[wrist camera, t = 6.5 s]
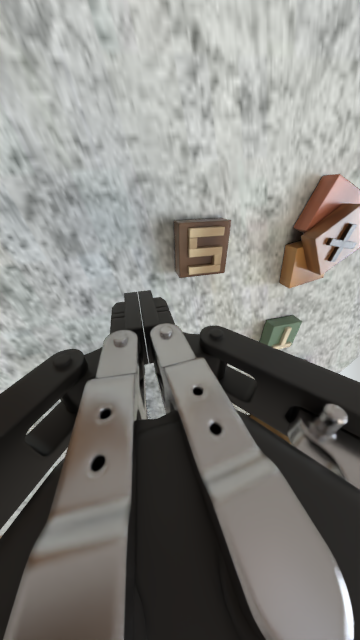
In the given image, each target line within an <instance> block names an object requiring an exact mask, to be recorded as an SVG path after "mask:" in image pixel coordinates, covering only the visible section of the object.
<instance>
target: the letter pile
mask: <svg viewBox="0 0 360 640" xmlns="http://www.w3.org/2000/svg"><path fill="white" fill-rule="evenodd" d="M293 228H294V229H296V230H298V231H300V232H302V233H304V234H303V235H301V239H302V241H298V242H295V243H291V244H288V245H286V246H285V252H284V258H283V264H282V270H281V276H280V283H281V284H283V285H284V286H286V287H288V288H292V287H295V286H298V285H301V284H304V283H308V282H311V281H314V280H317V279H320V278H323V277H324V273H325V272H326V271H328V270H329V269H331V268H332V267H333V266H335V265H336V264H338V263H339V262H341V261H342V260H343V259H345V258H346V257H348V256H349V255H351V254H352V253H353V252H355V251H356V250H358V249H359V248H360V189H358V188H357V187H356V186H355V185H353V184H352V183H351V182H349V181H348V180H347V179H345V178H344V177H343V176H342V175H340V174H336V175H324V176H322V178H321V180H320V182H319V183H318V185H317V187H316V189H315V190H314V192H313V194H312V196H311V197H310V199H309V201H308V203H307V204H306V206H305V208H304V210H303V211H302V213H301V215H300V216H299V218H298V220H297V222H296V223H295V225H294V227H293Z"/></svg>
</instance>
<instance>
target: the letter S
mask: <svg viewBox="0 0 360 640" xmlns="http://www.w3.org/2000/svg"><path fill="white" fill-rule="evenodd" d="M230 226H231V220H228V219H224V218H215V219H195V220H175V221H174V236H175V272H176V273H177V275H178V276H179V278H183V277H192V276H200V275H209V274H218V273H224V272H225V264H226V257H227V249H228V241H229V234H230Z"/></svg>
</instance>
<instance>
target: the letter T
mask: <svg viewBox="0 0 360 640" xmlns="http://www.w3.org/2000/svg"><path fill="white" fill-rule="evenodd" d="M301 323H302V321H301V320H299V319H298V318H297V317H295V316H294V315H292V316H287V317H281V318H276V319H270V320H266V323H265V326H264V329H263V332H262V335H261V339H260V342H261V343H263V344H266V345H268V346H271V347H273V348H276V349H282V348H286V347H290V346H291V345H292V343H293V341H294V338H295V336H296V334H297V332H298V330H299V328H300V325H301Z"/></svg>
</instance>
